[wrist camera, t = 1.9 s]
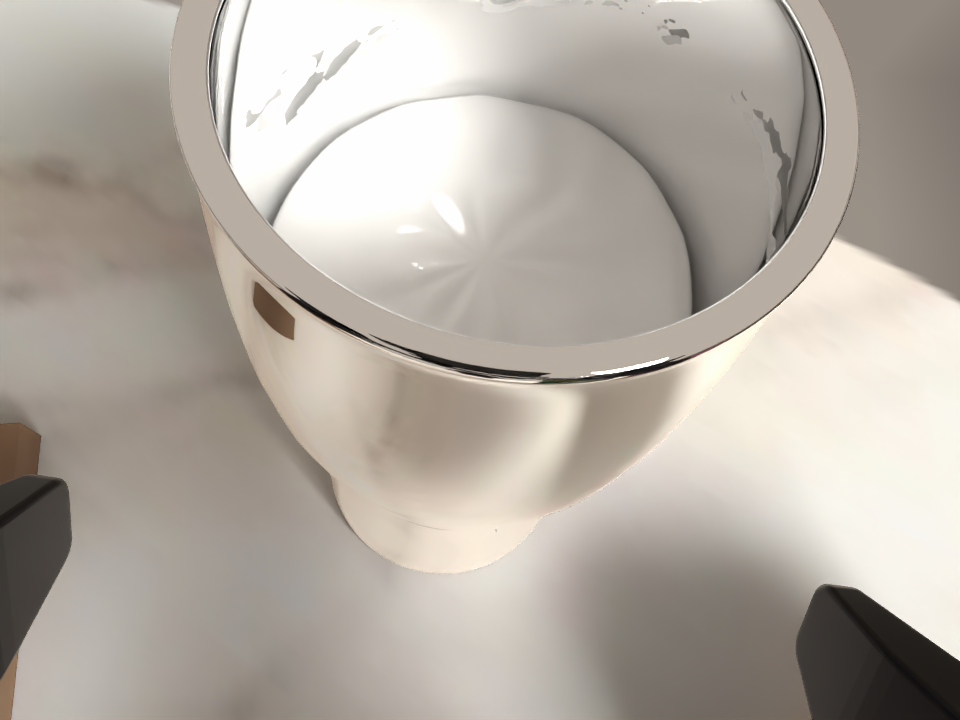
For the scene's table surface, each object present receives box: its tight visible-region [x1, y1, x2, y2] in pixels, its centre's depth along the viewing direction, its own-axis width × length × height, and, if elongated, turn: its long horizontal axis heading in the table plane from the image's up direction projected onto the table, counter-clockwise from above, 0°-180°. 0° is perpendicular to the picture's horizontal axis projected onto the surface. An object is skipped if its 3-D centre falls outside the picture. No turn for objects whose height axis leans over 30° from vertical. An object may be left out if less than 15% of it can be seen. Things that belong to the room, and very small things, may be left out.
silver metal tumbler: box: [169, 0, 860, 574], centre depth 14 cm, size 7×7×15 cm
